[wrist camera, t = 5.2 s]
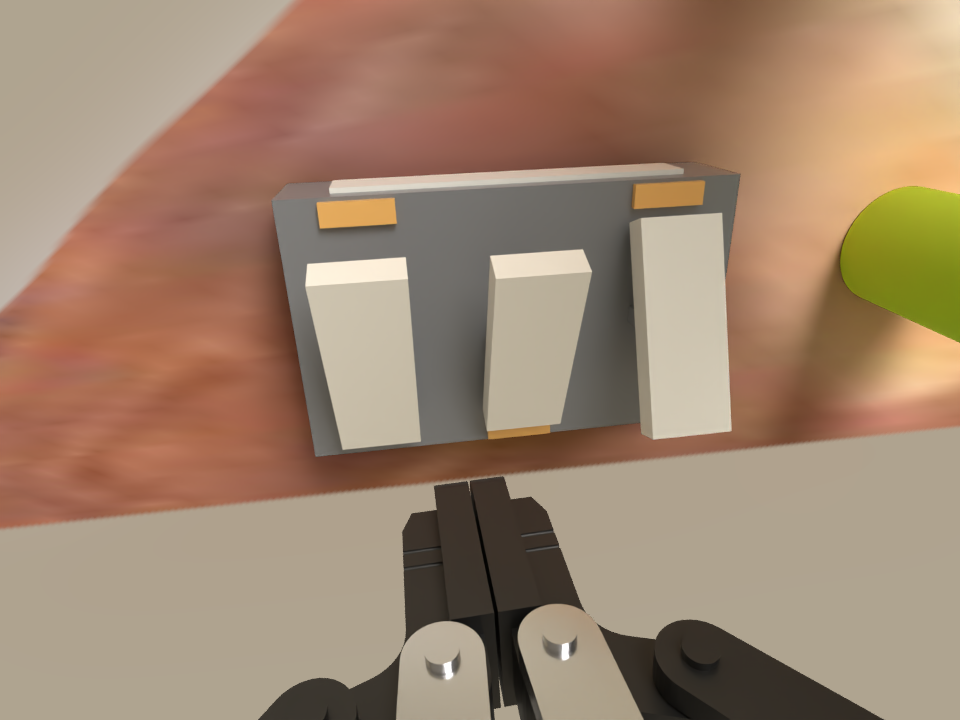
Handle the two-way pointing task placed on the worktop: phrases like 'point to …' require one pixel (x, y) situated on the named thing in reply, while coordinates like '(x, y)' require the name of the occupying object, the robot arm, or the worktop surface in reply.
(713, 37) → the worktop surface
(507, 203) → the switch box
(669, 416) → the block
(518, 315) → the block
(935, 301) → the soap dispenser
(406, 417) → the block
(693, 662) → the robot arm
